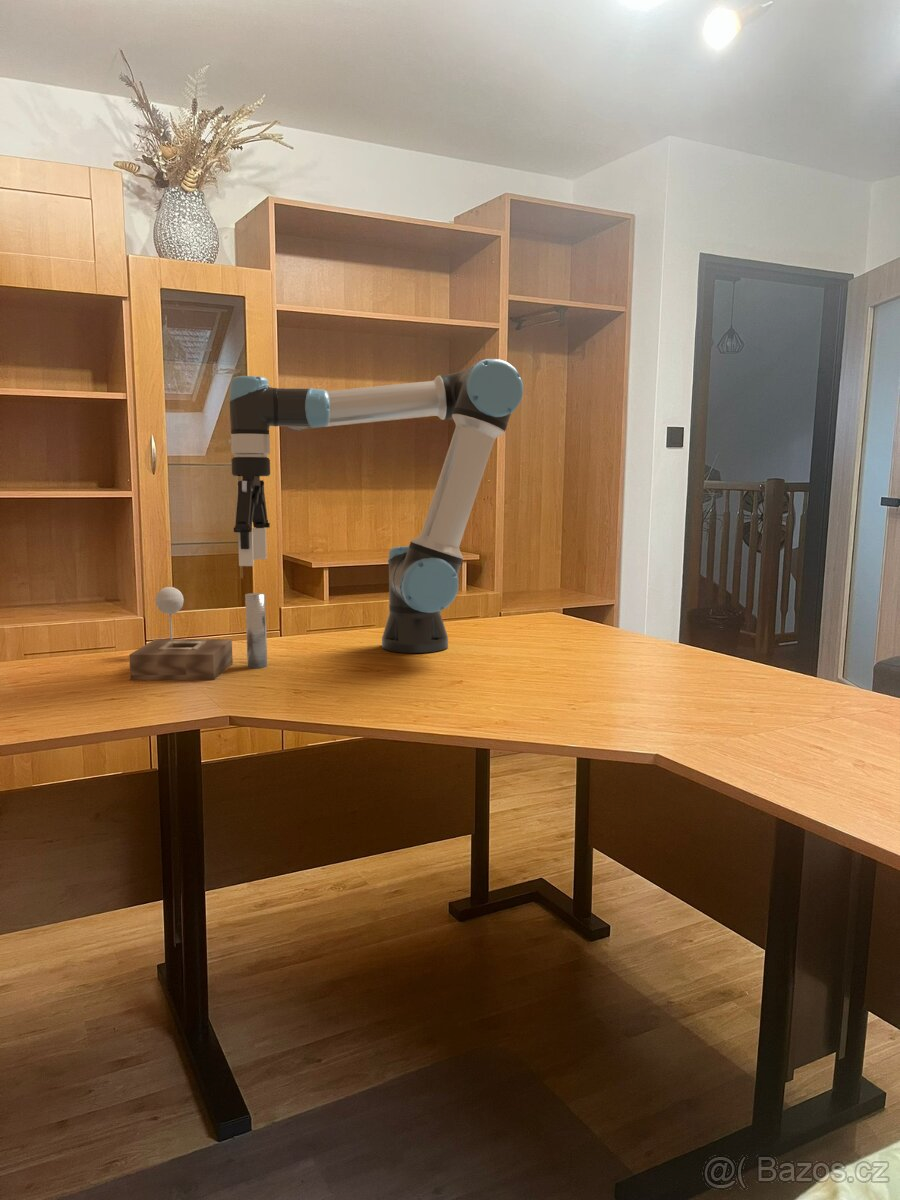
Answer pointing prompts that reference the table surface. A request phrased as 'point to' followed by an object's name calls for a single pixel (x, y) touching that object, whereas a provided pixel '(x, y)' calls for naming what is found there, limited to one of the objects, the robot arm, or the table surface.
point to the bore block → (181, 659)
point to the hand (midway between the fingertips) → (253, 562)
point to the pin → (256, 630)
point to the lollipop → (169, 602)
